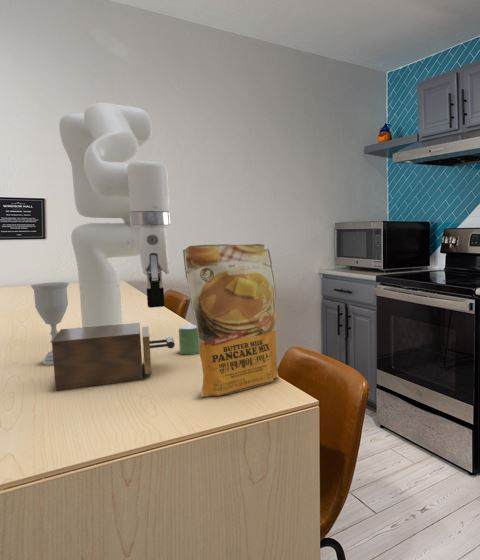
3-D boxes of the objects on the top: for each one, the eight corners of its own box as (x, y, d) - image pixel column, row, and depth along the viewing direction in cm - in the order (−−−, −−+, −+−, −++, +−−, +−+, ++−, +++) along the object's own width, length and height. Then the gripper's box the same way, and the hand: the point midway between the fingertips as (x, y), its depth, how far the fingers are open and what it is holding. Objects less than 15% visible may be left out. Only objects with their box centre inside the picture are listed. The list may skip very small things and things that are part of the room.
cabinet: (142, 364, 115) (139, 322, 114) (142, 379, 104) (139, 333, 103) (64, 373, 108) (60, 329, 107) (55, 390, 97) (51, 341, 96)
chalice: (54, 366, 113) (48, 286, 111) (29, 365, 114) (22, 285, 112) (82, 358, 120) (76, 282, 118) (58, 356, 121) (52, 281, 119)
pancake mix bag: (182, 394, 95) (174, 245, 92) (272, 372, 109) (268, 242, 106) (199, 402, 91) (191, 246, 88) (290, 378, 105) (286, 243, 102)
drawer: (173, 357, 117) (171, 324, 116) (176, 370, 107) (174, 334, 107) (79, 368, 109) (76, 332, 108) (73, 383, 99) (70, 344, 98)
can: (179, 350, 127) (177, 326, 126) (200, 348, 129) (199, 324, 129) (180, 355, 123) (179, 329, 122) (202, 352, 125) (201, 327, 124)
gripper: (172, 220, 102) (177, 310, 104) (168, 221, 116) (173, 300, 118) (129, 220, 99) (136, 313, 101) (130, 221, 112) (136, 303, 114)
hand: (156, 306), depth 109 cm, fingers closed
